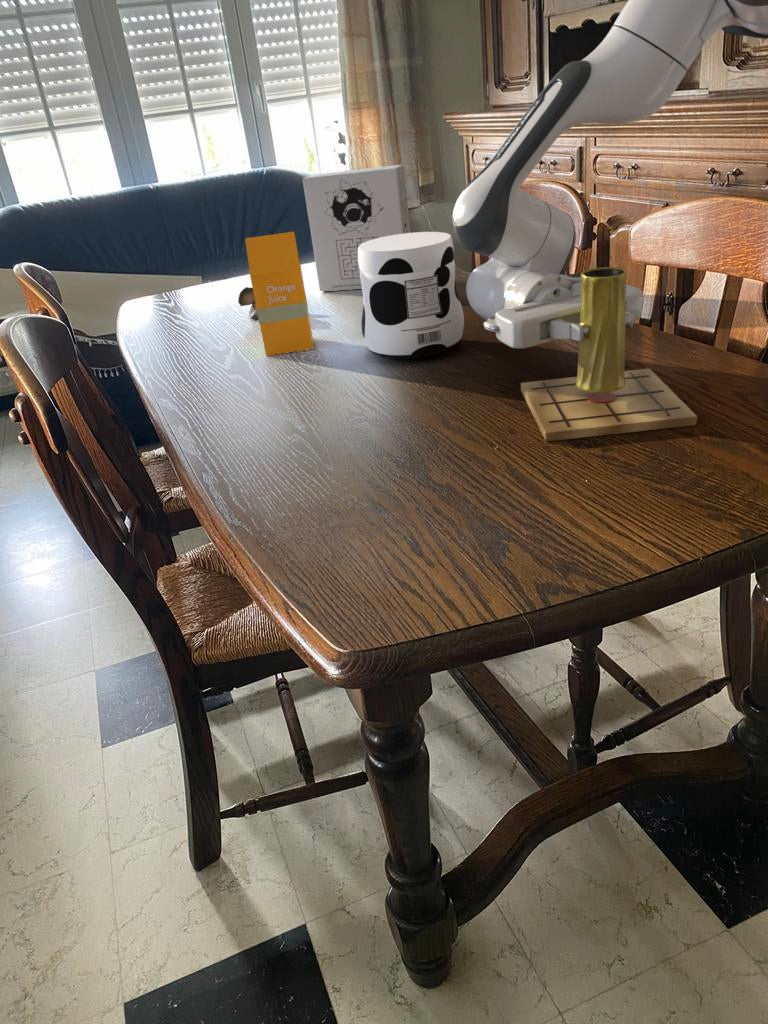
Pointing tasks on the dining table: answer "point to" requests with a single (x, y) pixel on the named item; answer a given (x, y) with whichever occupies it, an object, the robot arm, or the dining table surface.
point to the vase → (602, 330)
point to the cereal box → (352, 218)
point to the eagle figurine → (248, 301)
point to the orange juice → (279, 293)
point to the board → (605, 407)
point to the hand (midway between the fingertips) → (607, 327)
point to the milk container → (410, 295)
